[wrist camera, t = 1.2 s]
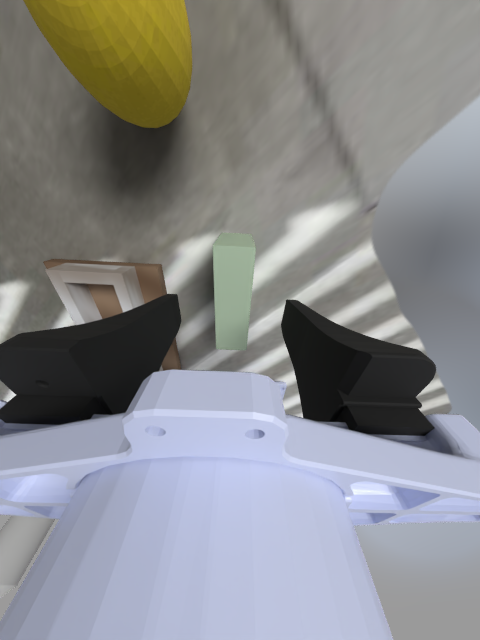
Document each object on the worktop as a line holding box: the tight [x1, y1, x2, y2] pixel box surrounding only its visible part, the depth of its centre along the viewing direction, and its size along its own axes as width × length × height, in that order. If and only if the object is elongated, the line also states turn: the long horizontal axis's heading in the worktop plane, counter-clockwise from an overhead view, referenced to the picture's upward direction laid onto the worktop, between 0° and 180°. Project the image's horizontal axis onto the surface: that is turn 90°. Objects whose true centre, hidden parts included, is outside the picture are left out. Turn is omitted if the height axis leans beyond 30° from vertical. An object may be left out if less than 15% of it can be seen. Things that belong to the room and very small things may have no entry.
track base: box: [43, 259, 181, 371], centre depth 20 cm, size 16×10×3 cm, turn 177°
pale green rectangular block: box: [213, 233, 256, 350], centre depth 15 cm, size 8×2×6 cm, turn 177°
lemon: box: [24, 0, 192, 128], centre depth 7 cm, size 6×6×8 cm
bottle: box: [0, 516, 55, 598], centre depth 23 cm, size 5×5×25 cm
